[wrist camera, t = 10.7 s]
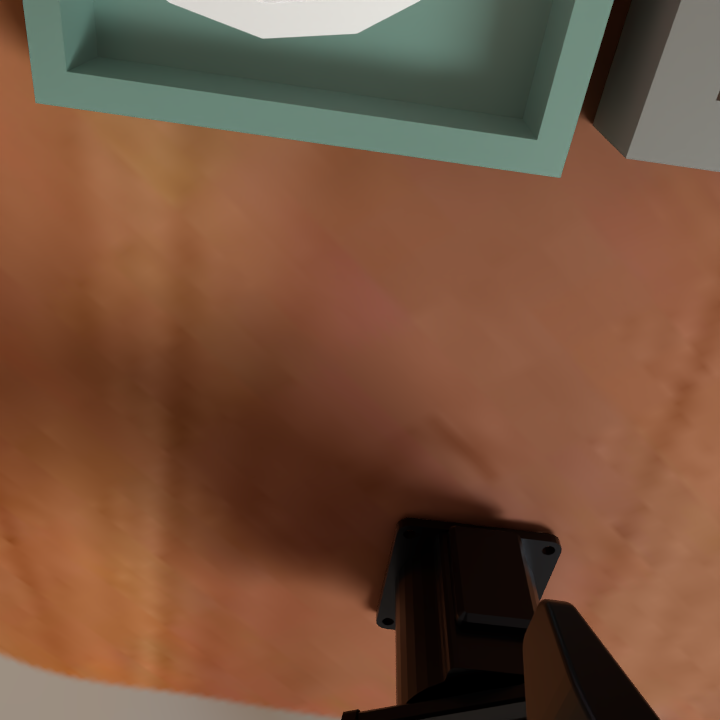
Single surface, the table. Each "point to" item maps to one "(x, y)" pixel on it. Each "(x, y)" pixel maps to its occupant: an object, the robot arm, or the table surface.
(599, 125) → the holder block
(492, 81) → the tray
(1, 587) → the table surface
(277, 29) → the beverage cup
